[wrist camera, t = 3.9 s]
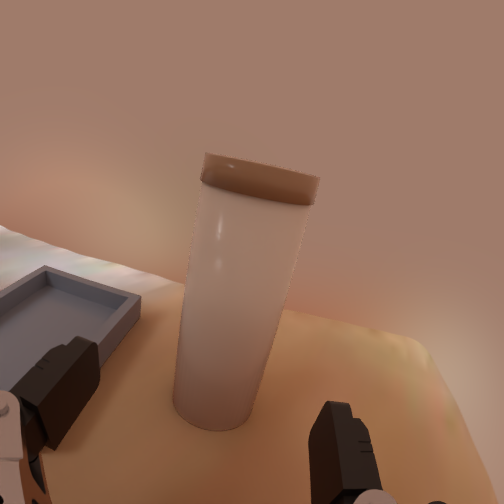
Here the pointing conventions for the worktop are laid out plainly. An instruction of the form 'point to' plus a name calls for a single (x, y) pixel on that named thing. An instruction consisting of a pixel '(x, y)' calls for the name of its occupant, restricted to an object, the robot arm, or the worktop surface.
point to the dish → (59, 318)
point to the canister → (236, 285)
